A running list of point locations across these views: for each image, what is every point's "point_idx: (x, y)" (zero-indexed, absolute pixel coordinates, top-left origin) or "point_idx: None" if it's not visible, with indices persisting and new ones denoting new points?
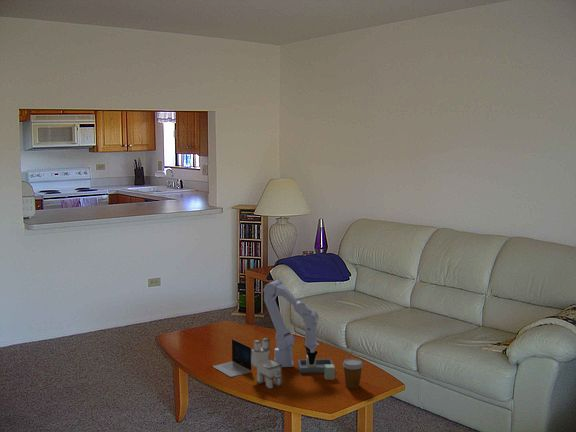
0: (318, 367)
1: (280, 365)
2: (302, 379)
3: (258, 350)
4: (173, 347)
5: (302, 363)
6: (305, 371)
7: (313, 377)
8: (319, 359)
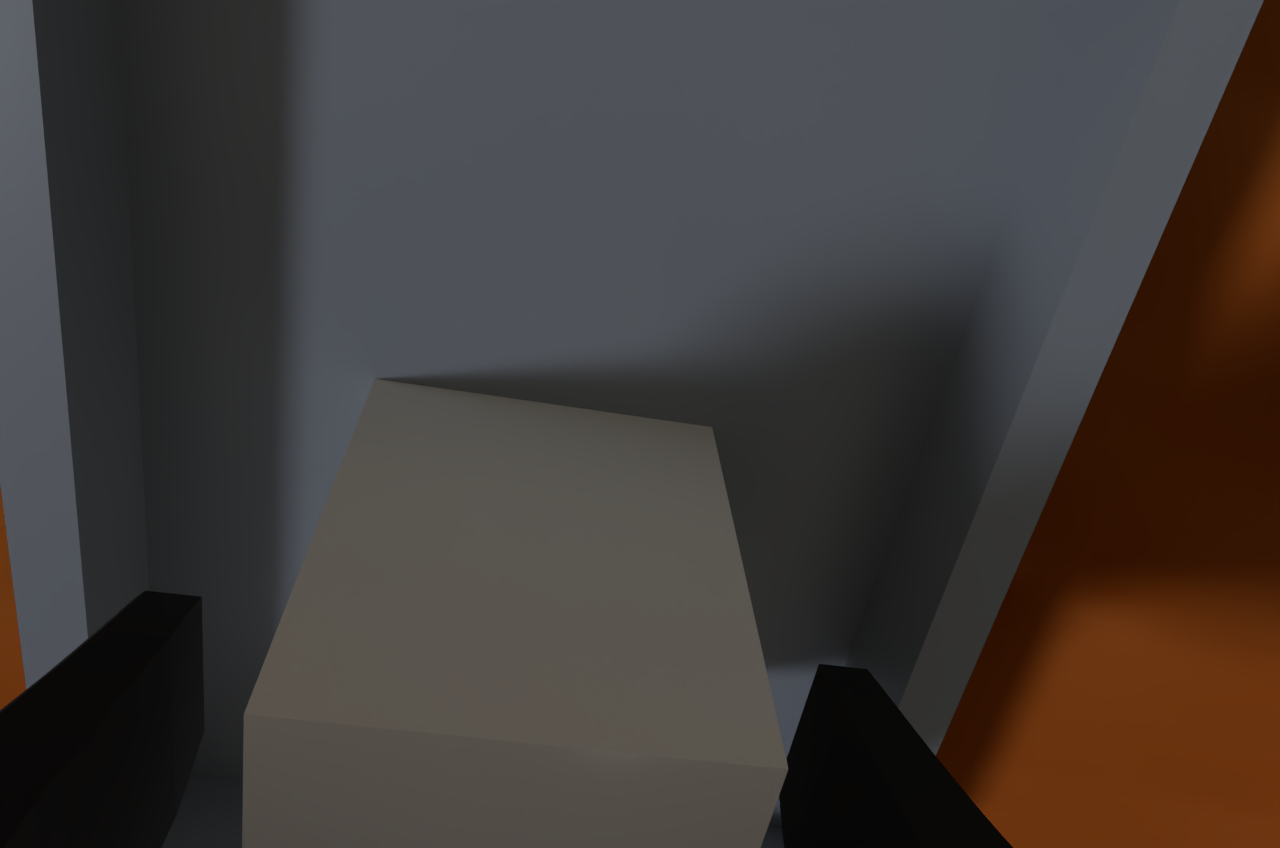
0: (1042, 485)
1: None
2: (1184, 828)
3: None
4: None
5: None
6: None
7: (1206, 583)
8: (22, 183)
